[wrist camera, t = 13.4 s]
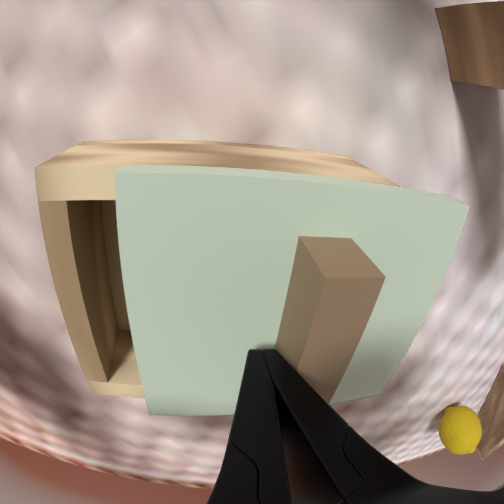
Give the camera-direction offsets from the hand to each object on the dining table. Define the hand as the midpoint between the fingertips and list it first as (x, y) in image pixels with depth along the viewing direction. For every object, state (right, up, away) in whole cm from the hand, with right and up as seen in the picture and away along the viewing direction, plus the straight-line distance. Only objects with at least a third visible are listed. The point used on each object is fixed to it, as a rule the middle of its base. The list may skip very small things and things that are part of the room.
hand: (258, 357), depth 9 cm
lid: (+1, +1, +2) cm, 2 cm away
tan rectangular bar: (+11, +14, +1) cm, 18 cm away
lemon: (+25, -17, +21) cm, 37 cm away
